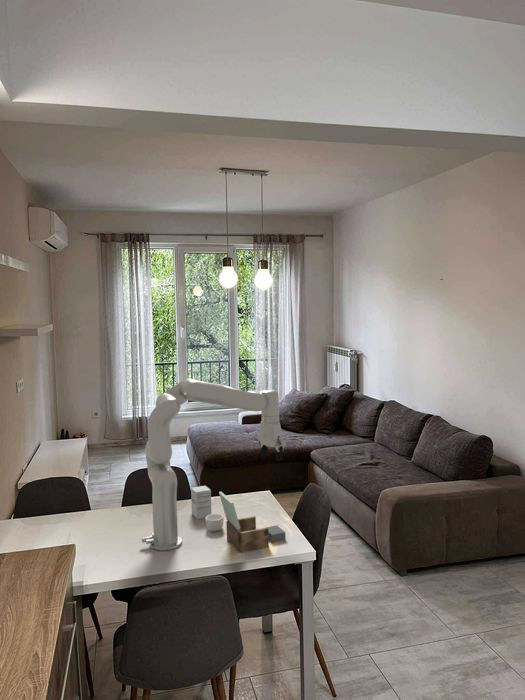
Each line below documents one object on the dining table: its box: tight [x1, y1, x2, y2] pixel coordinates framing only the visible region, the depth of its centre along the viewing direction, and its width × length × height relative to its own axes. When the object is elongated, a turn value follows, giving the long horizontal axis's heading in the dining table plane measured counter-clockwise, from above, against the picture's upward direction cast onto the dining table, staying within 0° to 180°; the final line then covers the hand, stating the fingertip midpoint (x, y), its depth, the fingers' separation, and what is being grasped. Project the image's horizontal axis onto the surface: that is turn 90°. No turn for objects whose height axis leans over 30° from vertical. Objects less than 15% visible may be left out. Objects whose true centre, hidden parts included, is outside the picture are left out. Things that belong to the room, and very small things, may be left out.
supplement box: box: [190, 485, 212, 520], centre depth 251 cm, size 7×7×13 cm
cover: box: [218, 491, 241, 533], centre depth 216 cm, size 12×14×1 cm
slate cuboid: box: [267, 524, 287, 543], centre depth 225 cm, size 6×8×4 cm
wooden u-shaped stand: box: [225, 515, 270, 554], centre depth 220 cm, size 12×15×8 cm
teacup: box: [204, 513, 225, 532], centre depth 236 cm, size 10×8×5 cm
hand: (272, 458), depth 234 cm, fingers open, 9 cm apart
